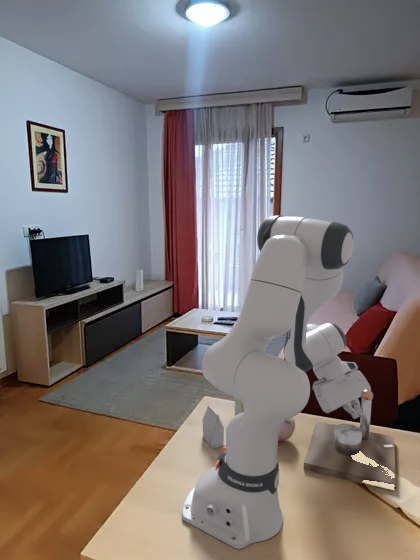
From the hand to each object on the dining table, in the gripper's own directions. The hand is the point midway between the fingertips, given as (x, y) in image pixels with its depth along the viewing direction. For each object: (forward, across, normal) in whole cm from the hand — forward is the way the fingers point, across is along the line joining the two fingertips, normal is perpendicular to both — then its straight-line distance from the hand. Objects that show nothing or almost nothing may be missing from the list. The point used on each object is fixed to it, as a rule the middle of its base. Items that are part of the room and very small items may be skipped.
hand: (359, 416), depth 118 cm
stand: (+8, -7, +4) cm, 11 cm away
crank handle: (+5, -5, +2) cm, 8 cm away
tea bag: (-13, -33, +24) cm, 43 cm away
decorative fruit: (-5, -17, +16) cm, 24 cm away
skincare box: (-15, -17, +27) cm, 35 cm away
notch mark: (+10, +1, -2) cm, 10 cm away
